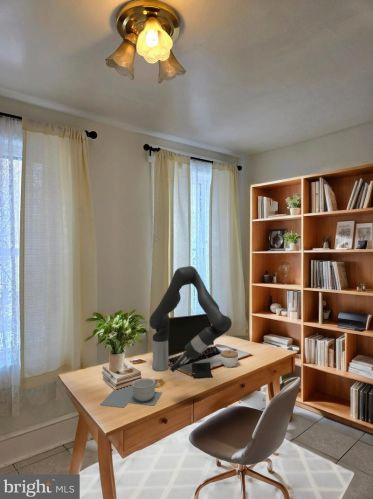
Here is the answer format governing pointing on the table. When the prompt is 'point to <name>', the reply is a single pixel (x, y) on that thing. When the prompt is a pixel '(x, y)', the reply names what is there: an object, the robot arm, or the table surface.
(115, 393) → the t mat
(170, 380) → the table surface
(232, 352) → the lidded jar
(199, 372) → the handheld gaming console
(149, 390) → the teacup
